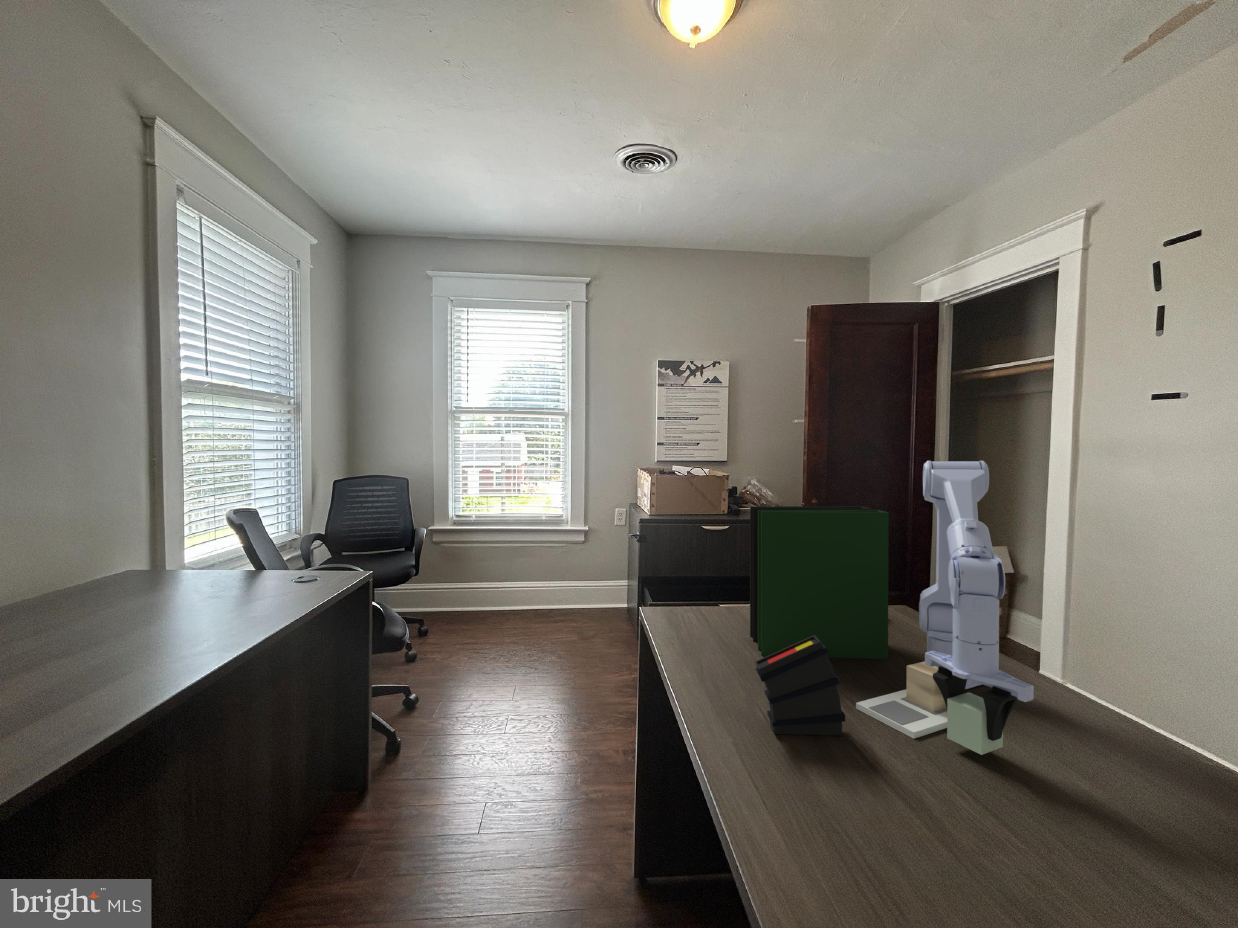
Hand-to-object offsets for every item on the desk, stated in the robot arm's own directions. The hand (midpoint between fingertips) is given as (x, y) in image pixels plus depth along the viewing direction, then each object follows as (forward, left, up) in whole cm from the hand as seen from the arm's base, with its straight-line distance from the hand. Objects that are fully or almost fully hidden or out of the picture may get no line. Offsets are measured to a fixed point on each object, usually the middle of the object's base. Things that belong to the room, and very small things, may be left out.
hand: (974, 729), depth 79 cm
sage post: (0, 0, -2) cm, 2 cm away
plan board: (-3, -12, -3) cm, 13 cm away
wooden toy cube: (-7, -12, -2) cm, 14 cm away
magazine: (+19, -16, -4) cm, 25 cm away
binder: (-12, -44, -4) cm, 46 cm away
